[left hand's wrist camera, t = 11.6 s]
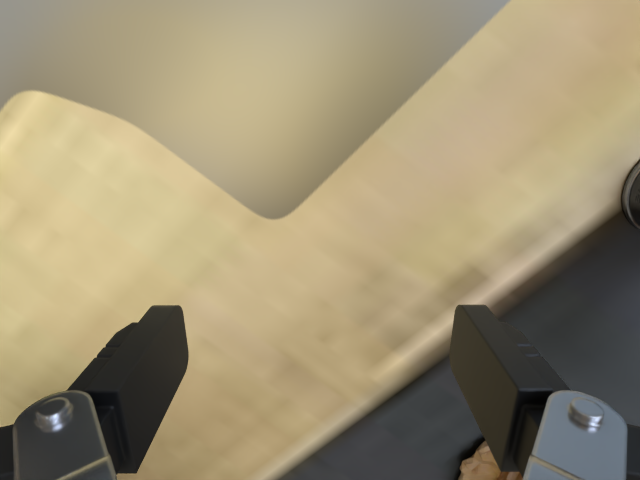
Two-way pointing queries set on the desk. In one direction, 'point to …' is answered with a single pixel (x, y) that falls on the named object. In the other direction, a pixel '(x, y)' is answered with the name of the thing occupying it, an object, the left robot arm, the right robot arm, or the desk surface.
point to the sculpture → (484, 467)
